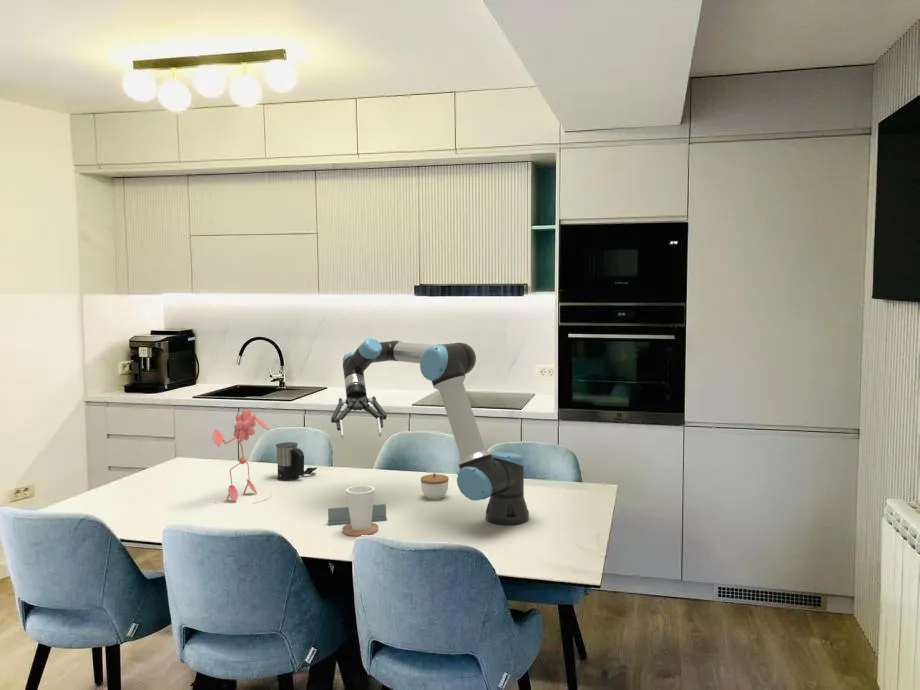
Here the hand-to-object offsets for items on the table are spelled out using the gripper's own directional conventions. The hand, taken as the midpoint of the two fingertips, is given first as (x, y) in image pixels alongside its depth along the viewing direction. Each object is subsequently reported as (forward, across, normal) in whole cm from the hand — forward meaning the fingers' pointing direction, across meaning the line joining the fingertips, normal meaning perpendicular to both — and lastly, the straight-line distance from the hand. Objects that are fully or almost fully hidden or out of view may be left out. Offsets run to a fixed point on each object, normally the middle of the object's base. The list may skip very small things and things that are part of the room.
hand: (361, 435), depth 271 cm
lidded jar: (+13, -29, -27) cm, 41 cm away
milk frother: (-21, +22, -60) cm, 67 cm away
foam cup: (+34, +3, -5) cm, 34 cm away
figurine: (-1, +41, -40) cm, 57 cm away
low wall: (+27, +3, -12) cm, 30 cm away
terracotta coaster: (+34, +3, -5) cm, 35 cm away
